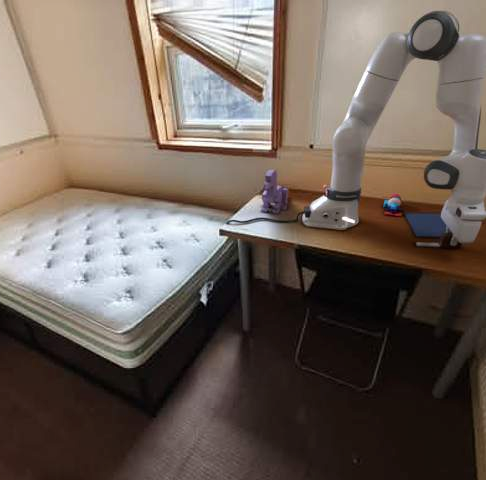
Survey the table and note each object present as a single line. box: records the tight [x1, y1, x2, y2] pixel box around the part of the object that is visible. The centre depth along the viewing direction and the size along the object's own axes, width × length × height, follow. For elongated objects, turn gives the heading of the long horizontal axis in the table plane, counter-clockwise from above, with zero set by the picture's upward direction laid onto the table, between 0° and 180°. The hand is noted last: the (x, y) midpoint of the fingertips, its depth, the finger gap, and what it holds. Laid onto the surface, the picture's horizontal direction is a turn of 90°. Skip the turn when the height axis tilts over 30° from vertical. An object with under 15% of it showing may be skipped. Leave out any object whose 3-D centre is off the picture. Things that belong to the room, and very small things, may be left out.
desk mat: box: [404, 212, 447, 239], centre depth 126 cm, size 13×20×1 cm, turn 166°
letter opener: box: [415, 232, 463, 249], centre depth 113 cm, size 13×3×5 cm, turn 76°
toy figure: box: [383, 193, 405, 217], centre depth 140 cm, size 8×5×15 cm
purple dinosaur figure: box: [260, 169, 290, 215], centre depth 149 cm, size 12×25×19 cm, turn 149°
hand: (450, 241), depth 112 cm, fingers closed on letter opener, 2 cm apart
